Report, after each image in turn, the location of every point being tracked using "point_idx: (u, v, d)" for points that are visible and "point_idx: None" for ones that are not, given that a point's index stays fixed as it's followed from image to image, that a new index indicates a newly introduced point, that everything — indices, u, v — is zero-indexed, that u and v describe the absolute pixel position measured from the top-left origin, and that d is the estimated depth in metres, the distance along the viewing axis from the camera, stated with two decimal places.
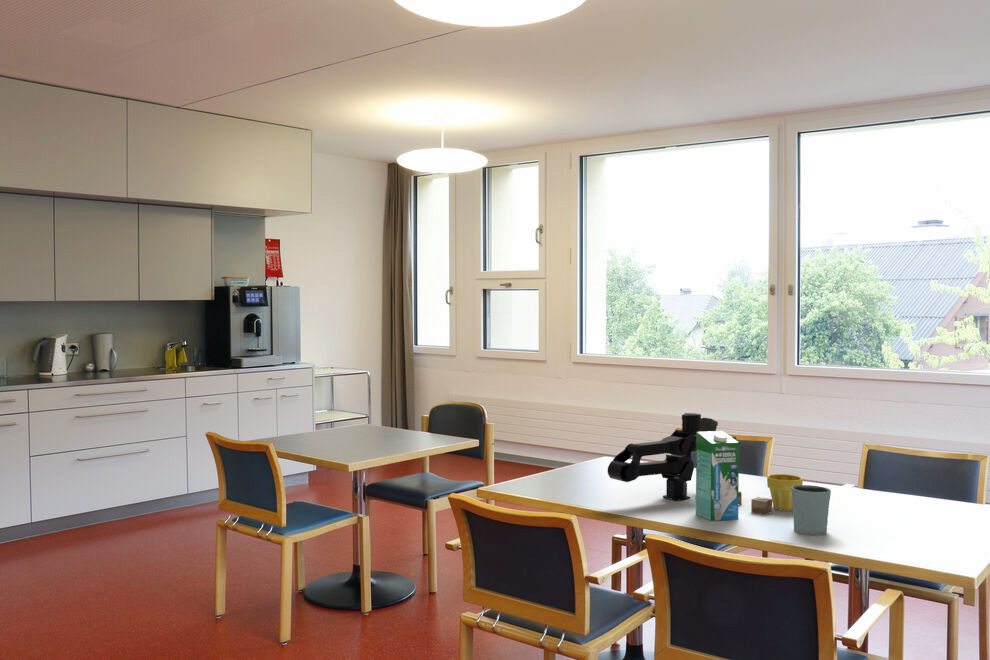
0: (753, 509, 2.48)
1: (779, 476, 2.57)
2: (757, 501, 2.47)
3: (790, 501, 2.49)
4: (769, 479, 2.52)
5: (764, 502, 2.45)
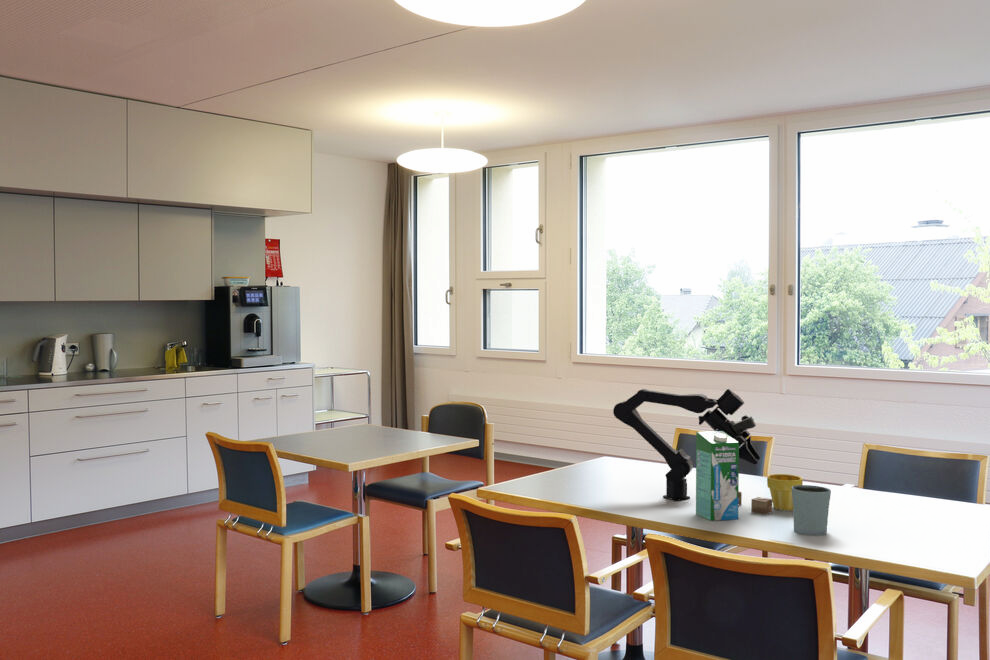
0: (753, 509, 2.48)
1: (779, 476, 2.57)
2: (757, 501, 2.47)
3: (790, 501, 2.49)
4: (769, 479, 2.52)
5: (764, 502, 2.45)
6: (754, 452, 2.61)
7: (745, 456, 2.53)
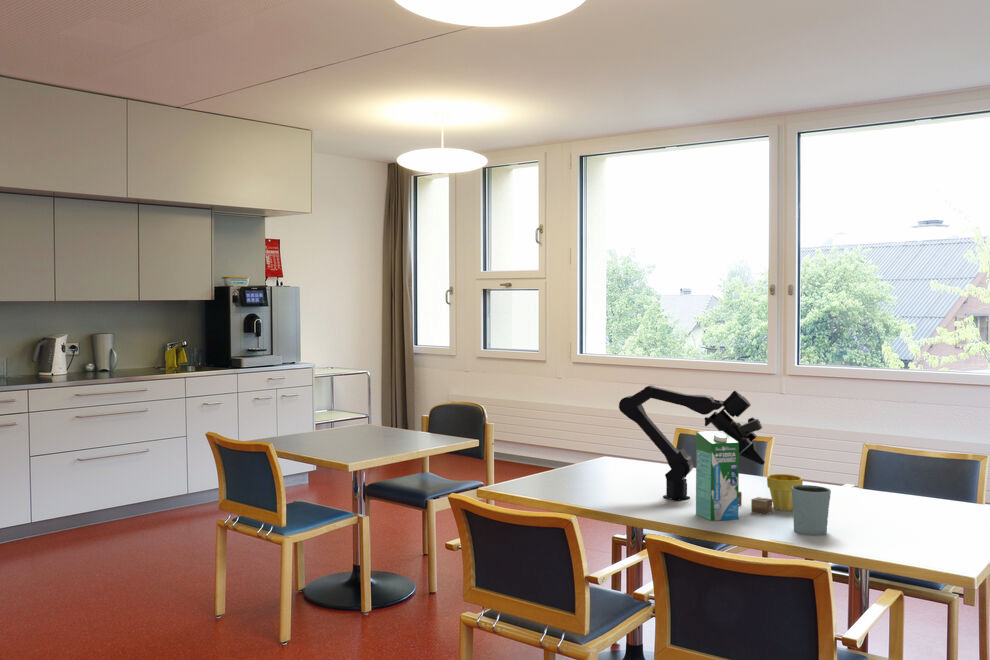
0: (753, 509, 2.48)
1: (779, 476, 2.57)
2: (757, 501, 2.47)
3: (790, 501, 2.49)
4: (769, 479, 2.52)
5: (764, 502, 2.45)
6: None
7: (753, 456, 2.55)
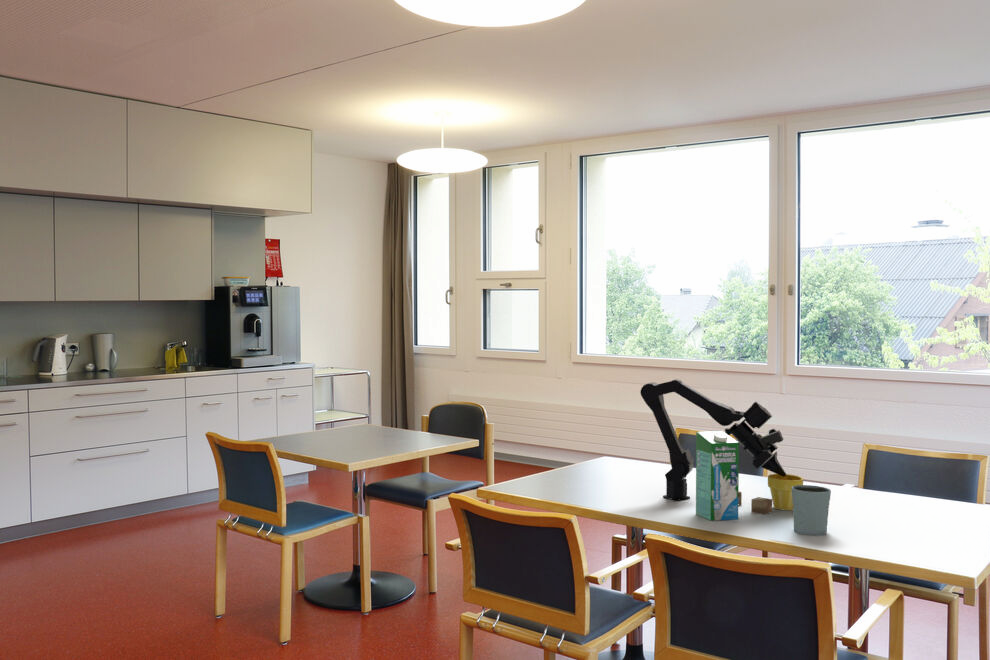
0: (753, 509, 2.48)
1: (780, 476, 2.57)
2: (757, 501, 2.47)
3: (790, 501, 2.49)
4: (770, 479, 2.52)
5: (764, 502, 2.45)
6: None
7: (774, 468, 2.53)
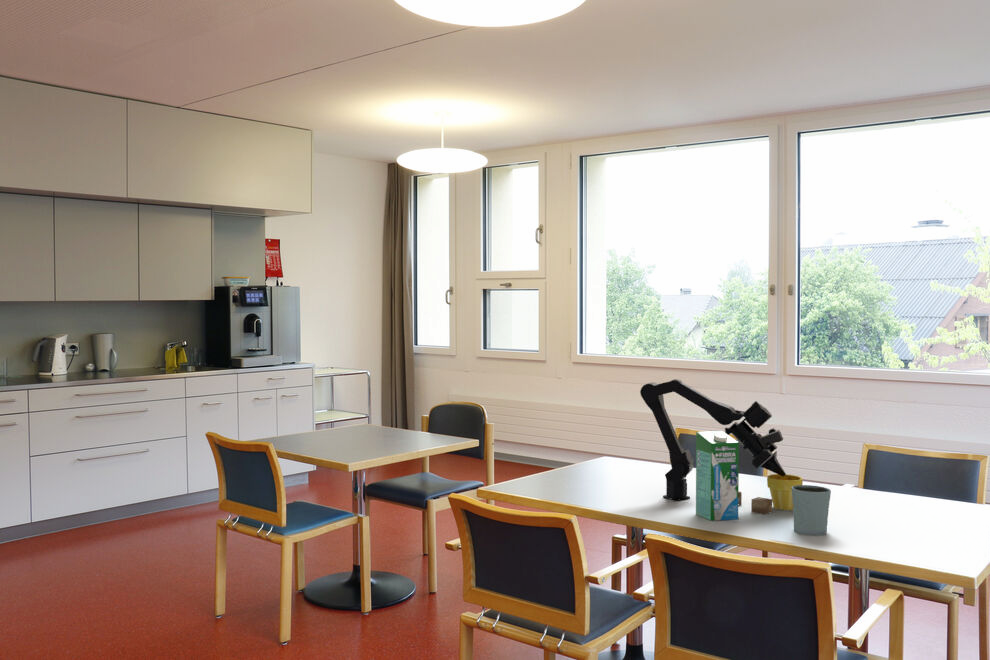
0: (753, 509, 2.48)
1: (779, 476, 2.57)
2: (757, 501, 2.47)
3: (790, 501, 2.49)
4: (769, 479, 2.52)
5: (764, 502, 2.45)
6: None
7: (773, 467, 2.53)
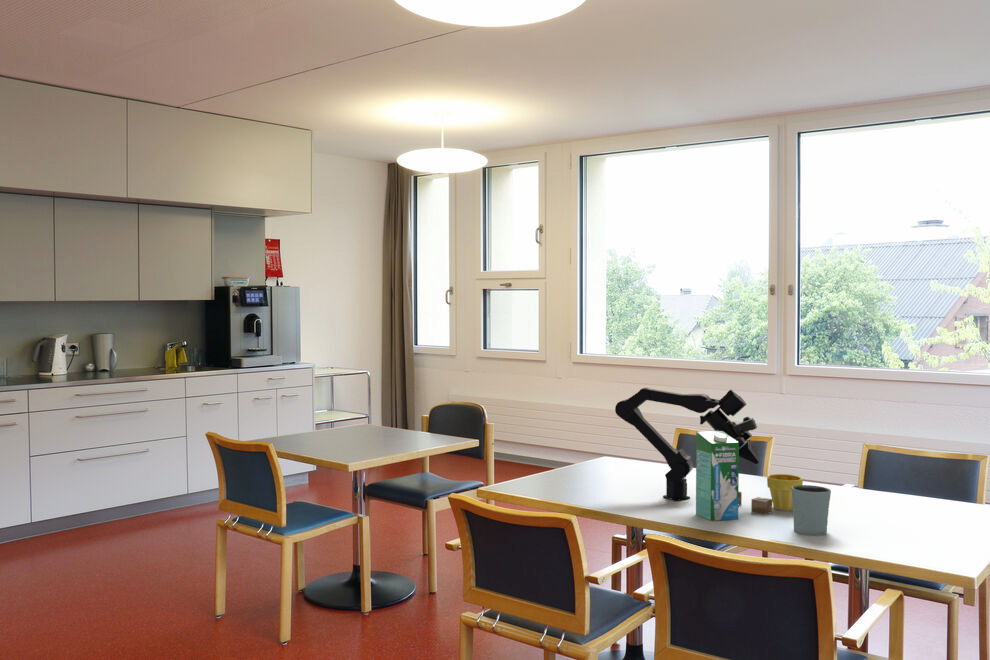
0: (753, 509, 2.48)
1: (779, 476, 2.57)
2: (757, 501, 2.47)
3: (790, 501, 2.49)
4: (769, 479, 2.52)
5: (764, 502, 2.45)
6: None
7: (747, 455, 2.56)
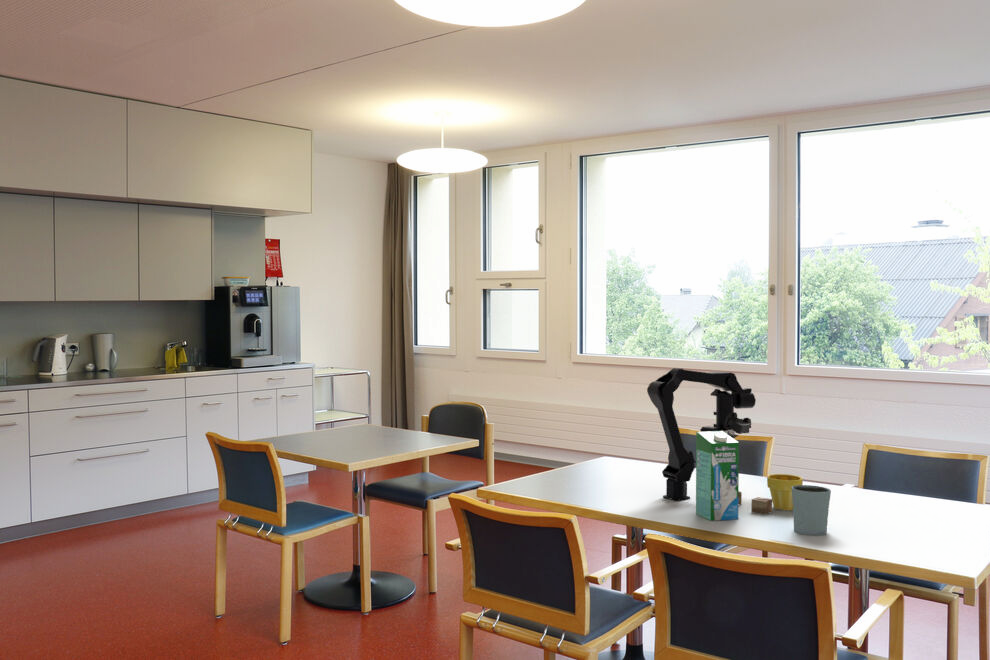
0: (753, 509, 2.48)
1: (779, 476, 2.57)
2: (757, 501, 2.47)
3: (790, 501, 2.49)
4: (769, 479, 2.52)
5: (764, 502, 2.45)
6: None
7: None
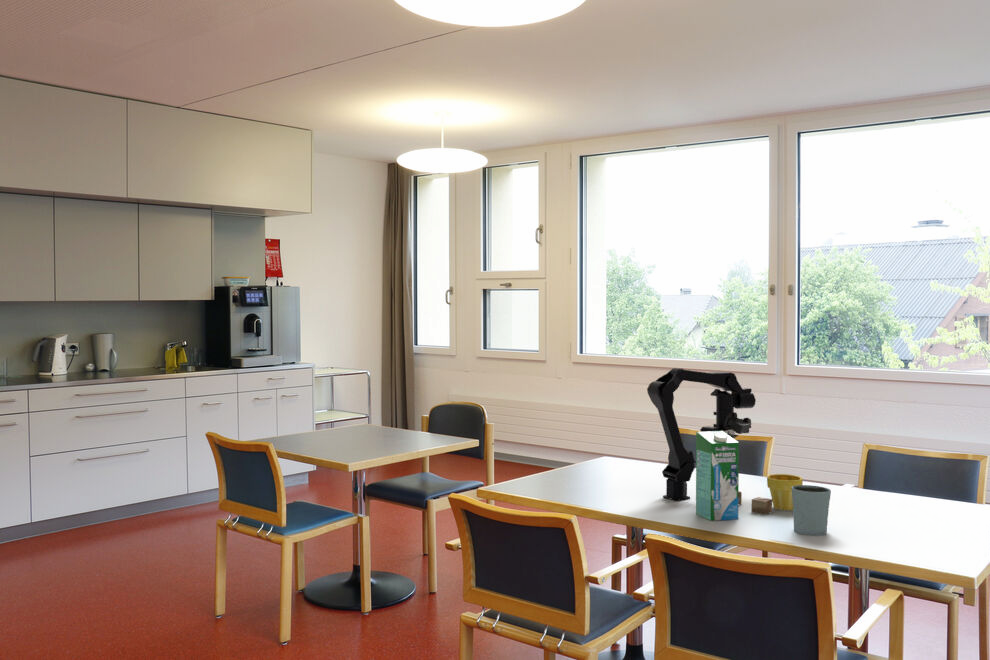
0: (753, 509, 2.48)
1: (779, 476, 2.57)
2: (757, 501, 2.47)
3: (790, 501, 2.49)
4: (769, 479, 2.52)
5: (764, 502, 2.45)
6: None
7: None
